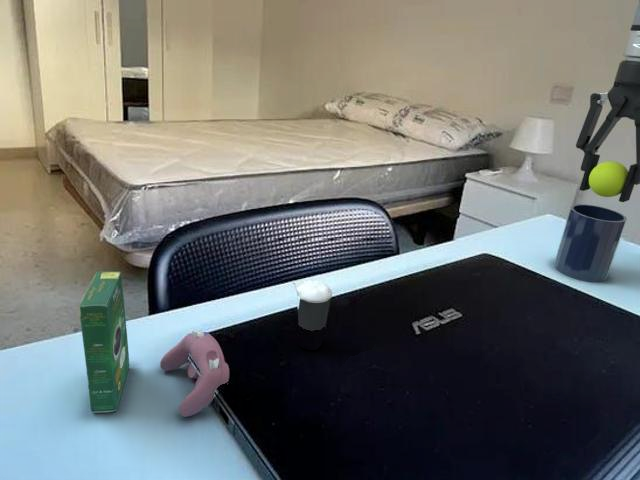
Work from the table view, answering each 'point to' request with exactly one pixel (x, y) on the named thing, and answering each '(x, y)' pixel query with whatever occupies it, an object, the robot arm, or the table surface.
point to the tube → (589, 242)
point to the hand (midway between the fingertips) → (603, 194)
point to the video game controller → (209, 365)
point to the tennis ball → (608, 178)
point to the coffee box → (105, 340)
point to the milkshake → (313, 304)
